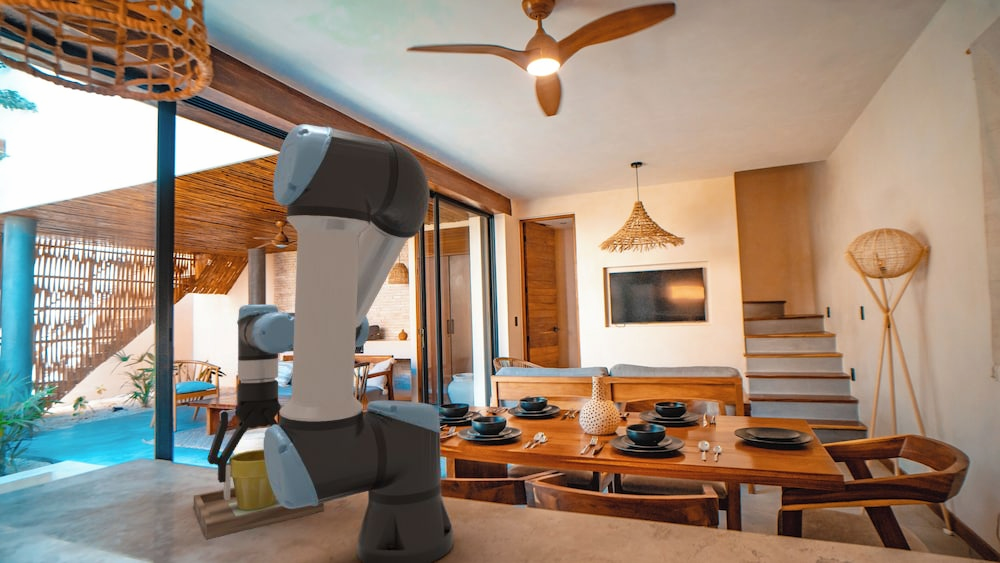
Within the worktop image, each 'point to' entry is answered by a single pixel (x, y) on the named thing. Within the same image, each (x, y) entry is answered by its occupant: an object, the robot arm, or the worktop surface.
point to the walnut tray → (240, 513)
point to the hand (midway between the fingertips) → (257, 492)
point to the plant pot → (251, 480)
